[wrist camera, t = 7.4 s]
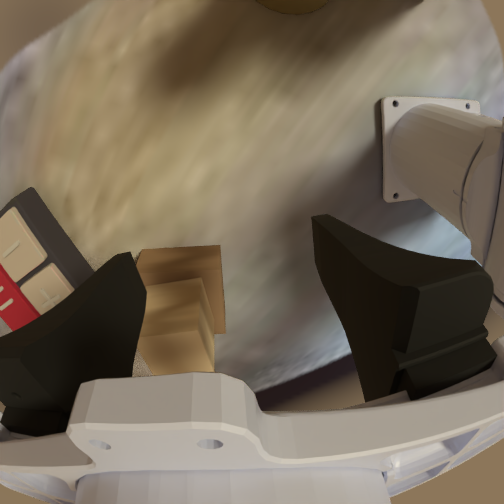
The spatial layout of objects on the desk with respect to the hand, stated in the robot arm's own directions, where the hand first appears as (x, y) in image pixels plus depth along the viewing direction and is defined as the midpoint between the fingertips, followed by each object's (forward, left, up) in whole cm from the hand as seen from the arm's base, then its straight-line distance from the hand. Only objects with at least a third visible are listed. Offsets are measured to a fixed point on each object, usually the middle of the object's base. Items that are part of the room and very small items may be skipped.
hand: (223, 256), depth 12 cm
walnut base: (+5, +8, -11) cm, 14 cm away
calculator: (+18, +6, -11) cm, 22 cm away
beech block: (+5, +8, -7) cm, 11 cm away
